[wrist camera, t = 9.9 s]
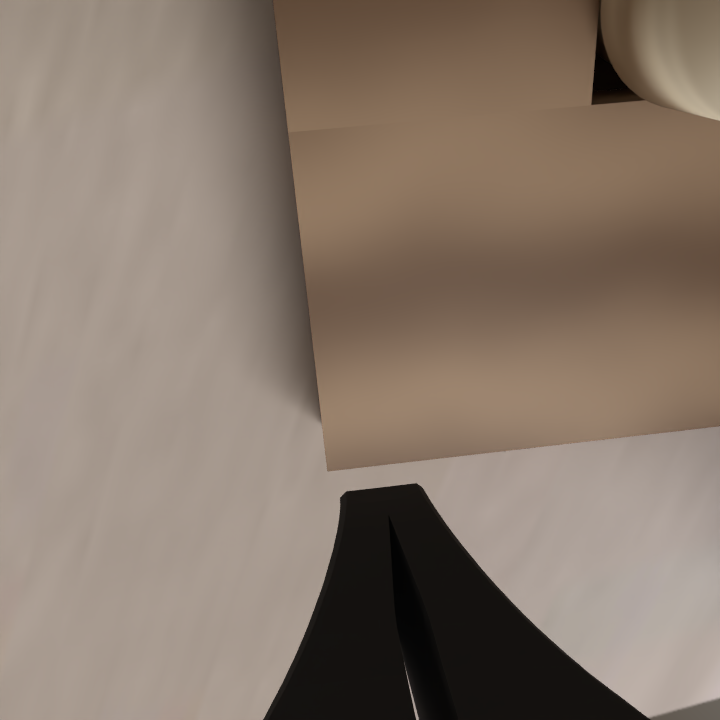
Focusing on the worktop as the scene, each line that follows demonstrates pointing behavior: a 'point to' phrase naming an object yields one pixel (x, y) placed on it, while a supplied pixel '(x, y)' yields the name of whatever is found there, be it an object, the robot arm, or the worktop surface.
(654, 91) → the peg
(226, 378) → the worktop surface
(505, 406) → the board
